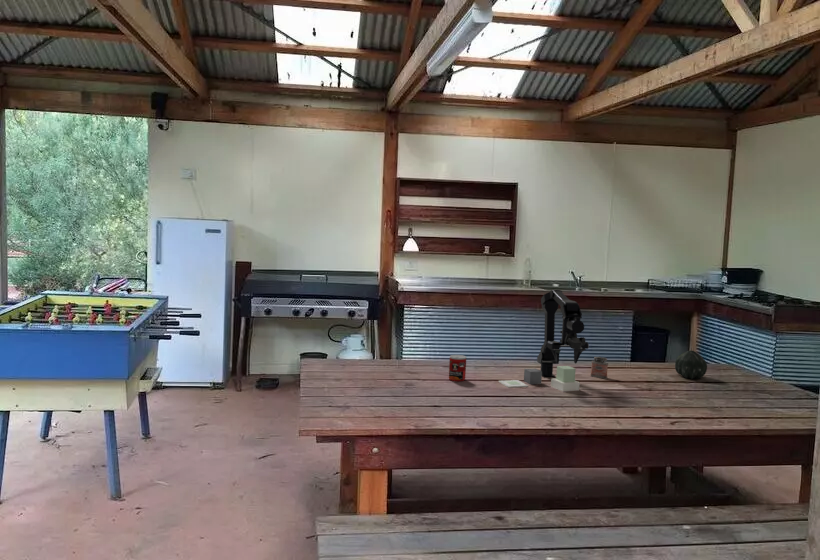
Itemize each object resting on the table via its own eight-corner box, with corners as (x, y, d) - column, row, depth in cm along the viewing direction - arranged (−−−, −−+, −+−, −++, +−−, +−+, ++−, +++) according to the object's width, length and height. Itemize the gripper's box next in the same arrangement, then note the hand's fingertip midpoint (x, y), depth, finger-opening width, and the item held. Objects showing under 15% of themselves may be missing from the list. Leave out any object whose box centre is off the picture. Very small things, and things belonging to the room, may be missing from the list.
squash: (695, 362, 336) (682, 342, 331) (717, 370, 321) (704, 349, 317) (677, 381, 333) (663, 360, 329) (698, 389, 319) (684, 368, 315)
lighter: (589, 376, 318) (591, 356, 317) (591, 375, 321) (592, 355, 320) (606, 378, 314) (607, 358, 313) (607, 377, 317) (609, 357, 316)
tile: (498, 381, 298) (498, 380, 298) (517, 381, 301) (518, 379, 301) (508, 387, 288) (508, 385, 288) (528, 386, 291) (528, 385, 291)
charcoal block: (523, 381, 302) (524, 368, 301) (535, 380, 304) (535, 368, 303) (529, 384, 296) (530, 371, 296) (541, 384, 298) (542, 371, 297)
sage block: (556, 379, 293) (556, 366, 293) (567, 378, 295) (568, 365, 294) (563, 382, 287) (563, 369, 287) (574, 381, 289) (575, 368, 289)
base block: (550, 387, 294) (551, 378, 294) (566, 386, 297) (567, 377, 297) (562, 392, 286) (563, 383, 285) (579, 391, 289) (579, 382, 289)
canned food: (446, 380, 297) (447, 356, 296) (451, 376, 304) (452, 353, 303) (462, 382, 294) (463, 358, 293) (467, 378, 301) (468, 355, 300)
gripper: (559, 332, 279) (557, 368, 280) (596, 332, 284) (594, 367, 286) (546, 328, 289) (544, 362, 291) (582, 328, 295) (580, 361, 296)
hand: (566, 363), depth 291 cm, fingers open, 9 cm apart
